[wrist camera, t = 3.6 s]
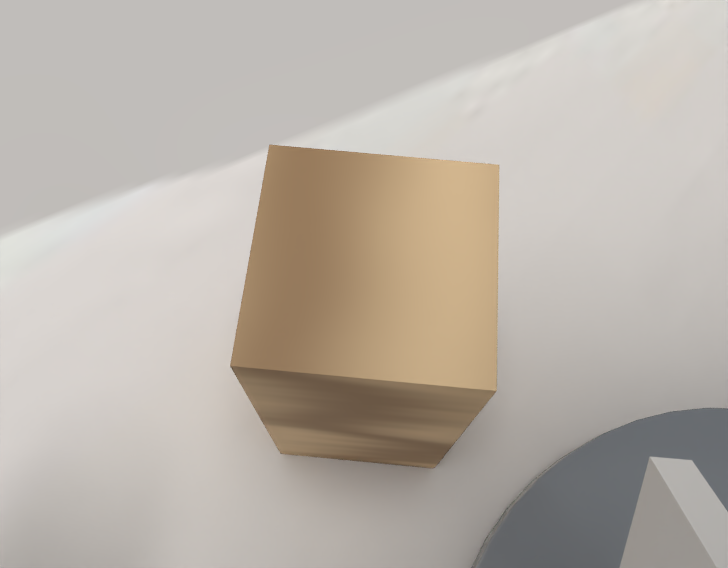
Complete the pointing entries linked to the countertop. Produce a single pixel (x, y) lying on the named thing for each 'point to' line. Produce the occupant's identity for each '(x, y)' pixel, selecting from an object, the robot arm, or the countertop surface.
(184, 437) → the countertop surface
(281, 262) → the oak block
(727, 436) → the dish
